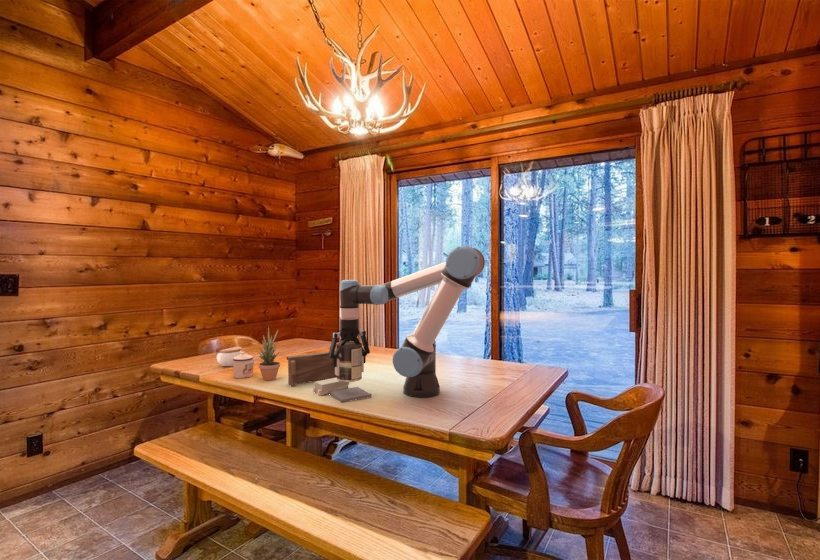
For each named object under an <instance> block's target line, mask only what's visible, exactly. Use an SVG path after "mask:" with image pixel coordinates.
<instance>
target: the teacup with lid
mask: <svg viewBox="0 0 820 560" xmlns="http://www.w3.org/2000/svg"><path fill="white" fill-rule="evenodd" d="M254 365H255V360H254V356H253V355H250V354H248V353H246V351H241V354H239V355H238V356H236V357H234V358H233V366H232V367H233V377H234V378H235V379H246V378H245V377H247V378H250V376H251V377H253V375H254Z"/></svg>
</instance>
